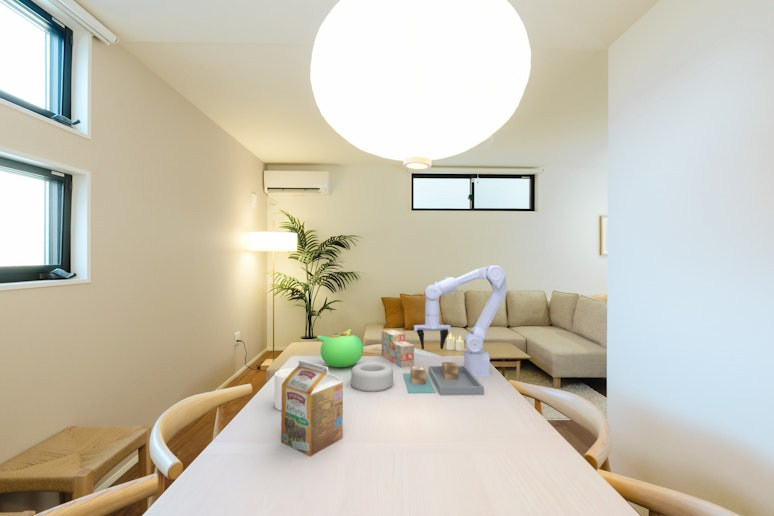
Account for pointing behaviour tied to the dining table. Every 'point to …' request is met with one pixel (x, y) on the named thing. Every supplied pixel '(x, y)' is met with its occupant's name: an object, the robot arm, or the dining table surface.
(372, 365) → the fat ring
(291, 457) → the dining table surface
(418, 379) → the labelled box
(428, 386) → the teal board
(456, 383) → the tray
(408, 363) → the stack of blocks
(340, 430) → the milk carton
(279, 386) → the mug
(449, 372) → the plain box
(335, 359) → the toy bird
